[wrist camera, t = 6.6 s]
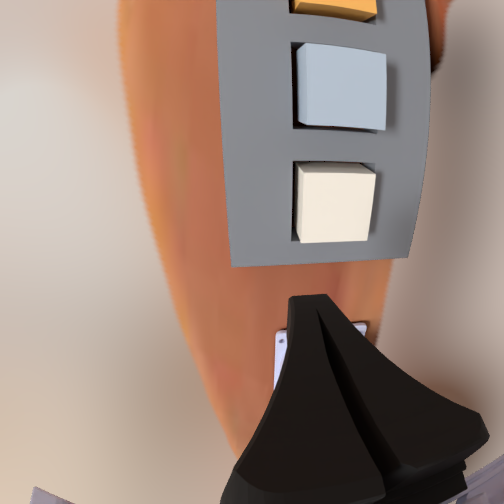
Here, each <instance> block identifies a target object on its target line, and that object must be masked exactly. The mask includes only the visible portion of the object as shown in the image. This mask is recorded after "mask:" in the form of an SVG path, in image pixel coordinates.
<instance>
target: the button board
mask: <svg viewBox="0 0 504 504" xmlns="http://www.w3.org/2000/svg"><path fill="white" fill-rule="evenodd" d="M376 8H377V14H376V15H374V16H372V17H370V18H368V19H366V20H365V21H363V22H358V21H352V20H346V19H340V18H333V17H325V16H316V15H305V14H290V13H289V4H288V0H216V16H217V46H218V70H219V92H220V111H221V129H222V146H223V161H224V177H225V191H226V205H227V218H228V231H229V244H230V256H231V267H248V266H270V265H290V264H309V263H328V262H345V261H362V260H378V259H394V258H407V257H408V254H409V251H410V246H411V242H412V238H413V234H414V229H415V224H416V219H417V214H418V208H419V204H420V198H421V192H422V186H423V179H424V171H425V164H426V156H427V146H428V134H429V120H430V96H431V92H430V91H431V86H430V85H431V71H430V47H429V33H428V23H427V14H426V7H425V0H376ZM305 43H312V44H323V45H332V46H341V47H348V48H355V49H361V50H367V51H372V52H377V53H382V54H386V74H387V95H386V126H385V130H377V129H368V128H364V129H353V128H338V127H316V126H293V116H292V68H291V48H294V49H299V48H300V47H302V46H303V45H304V44H305ZM293 161H343V162H362V166H364V167H366V168H367V169H369V170H370V171H372V172H373V173H375V174H376V178H375V187H374V196H373V204H372V211H371V218H370V225H369V232H368V238H367V241H344V242H319V243H301V242H300V239H299V237H298V234H297V231H296V229H295V227H291V226H292V175H293Z"/></svg>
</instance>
